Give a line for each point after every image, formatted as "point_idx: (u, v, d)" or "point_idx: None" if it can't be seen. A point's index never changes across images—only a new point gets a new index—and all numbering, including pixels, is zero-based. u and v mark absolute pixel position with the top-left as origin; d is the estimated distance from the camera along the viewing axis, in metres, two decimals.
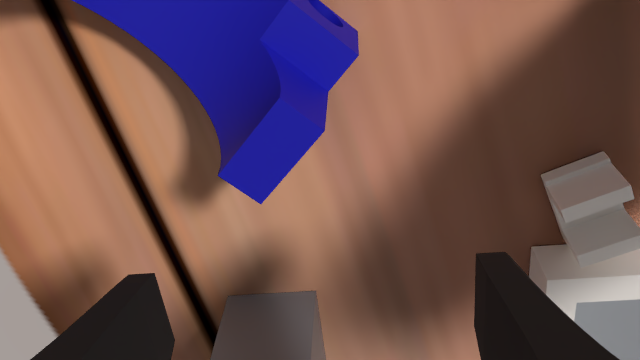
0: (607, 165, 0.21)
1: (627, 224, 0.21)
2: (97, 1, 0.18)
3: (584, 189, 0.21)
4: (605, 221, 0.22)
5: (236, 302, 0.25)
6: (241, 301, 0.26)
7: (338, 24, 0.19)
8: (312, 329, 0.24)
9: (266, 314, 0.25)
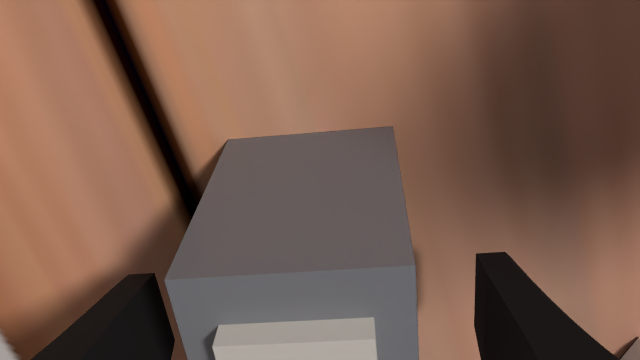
0: None
1: None
2: None
3: None
4: None
5: (243, 146, 0.14)
6: (253, 145, 0.14)
7: None
8: (399, 174, 0.12)
9: (303, 158, 0.13)
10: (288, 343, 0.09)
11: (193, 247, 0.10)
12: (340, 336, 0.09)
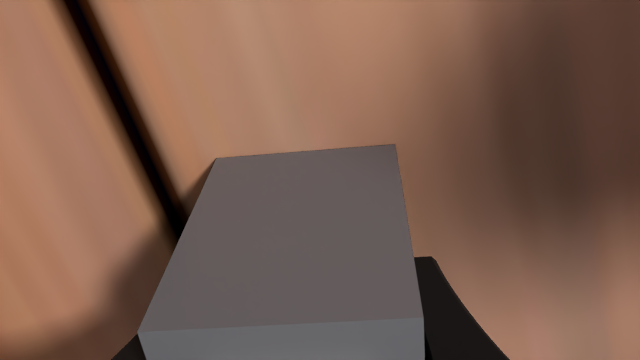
0: None
1: None
2: None
3: None
4: None
5: (232, 167, 0.12)
6: (242, 166, 0.12)
7: None
8: (402, 203, 0.10)
9: (297, 182, 0.12)
10: None
11: (172, 291, 0.09)
12: None
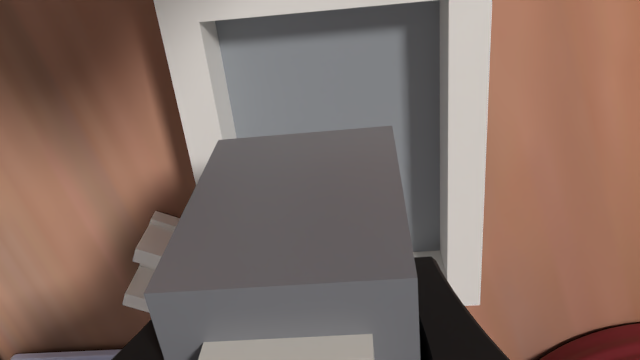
0: None
1: None
2: None
3: None
4: None
5: (234, 148, 0.13)
6: (244, 146, 0.13)
7: None
8: (399, 178, 0.11)
9: (297, 161, 0.12)
10: None
11: (176, 258, 0.09)
12: (335, 355, 0.08)
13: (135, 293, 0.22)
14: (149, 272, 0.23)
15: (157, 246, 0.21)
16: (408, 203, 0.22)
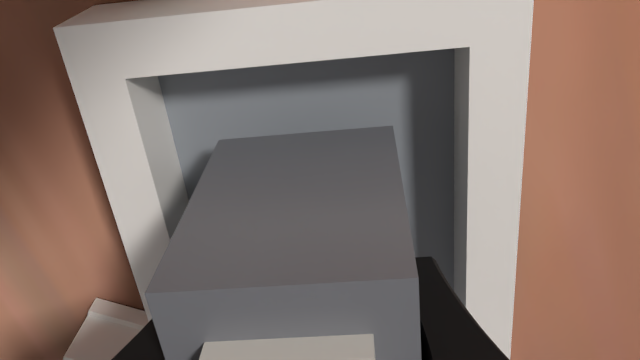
0: None
1: None
2: None
3: None
4: None
5: (235, 148, 0.13)
6: (245, 146, 0.13)
7: None
8: (399, 178, 0.11)
9: (298, 160, 0.12)
10: None
11: (178, 257, 0.09)
12: (336, 355, 0.08)
13: None
14: None
15: (93, 350, 0.17)
16: None
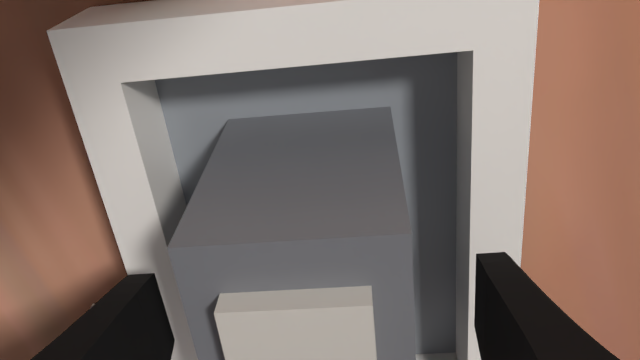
0: None
1: None
2: None
3: None
4: None
5: (243, 126, 0.14)
6: (253, 125, 0.14)
7: None
8: (396, 151, 0.12)
9: (302, 137, 0.13)
10: (288, 310, 0.09)
11: (195, 218, 0.10)
12: (338, 303, 0.09)
13: None
14: None
15: None
16: (415, 297, 0.17)
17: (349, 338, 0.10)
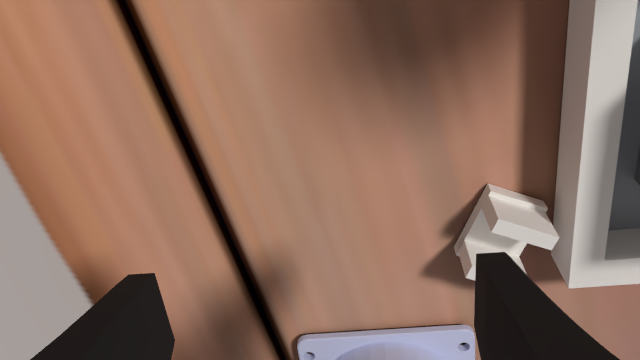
0: None
1: None
2: None
3: None
4: None
5: None
6: None
7: None
8: None
9: None
10: None
11: None
12: None
13: None
14: (476, 246, 0.23)
15: (512, 217, 0.21)
16: None
17: None
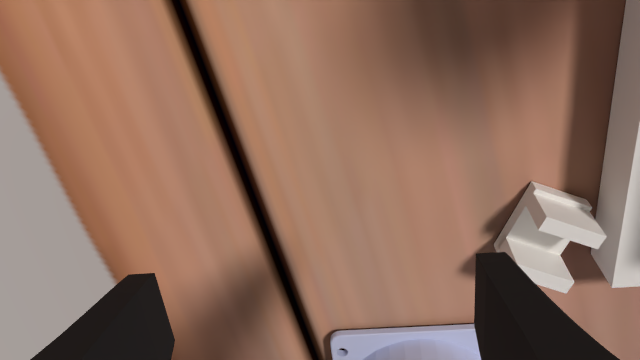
0: None
1: None
2: None
3: None
4: None
5: None
6: None
7: None
8: None
9: None
10: None
11: None
12: None
13: (525, 264, 0.22)
14: (518, 244, 0.23)
15: (559, 215, 0.21)
16: None
17: None
